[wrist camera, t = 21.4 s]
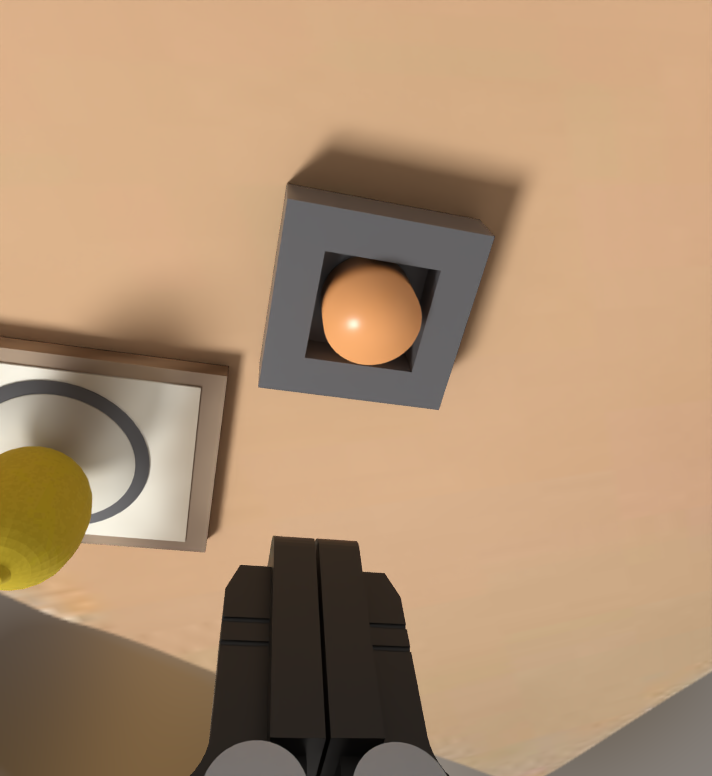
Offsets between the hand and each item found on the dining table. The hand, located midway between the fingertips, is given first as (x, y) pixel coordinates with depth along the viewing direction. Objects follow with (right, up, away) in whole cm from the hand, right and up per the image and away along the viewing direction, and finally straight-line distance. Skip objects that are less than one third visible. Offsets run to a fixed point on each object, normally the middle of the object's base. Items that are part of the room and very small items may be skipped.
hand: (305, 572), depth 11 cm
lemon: (-15, 0, +21) cm, 26 cm away
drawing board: (-15, 0, +22) cm, 27 cm away
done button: (+1, +8, +19) cm, 21 cm away
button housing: (+1, +8, +20) cm, 21 cm away
